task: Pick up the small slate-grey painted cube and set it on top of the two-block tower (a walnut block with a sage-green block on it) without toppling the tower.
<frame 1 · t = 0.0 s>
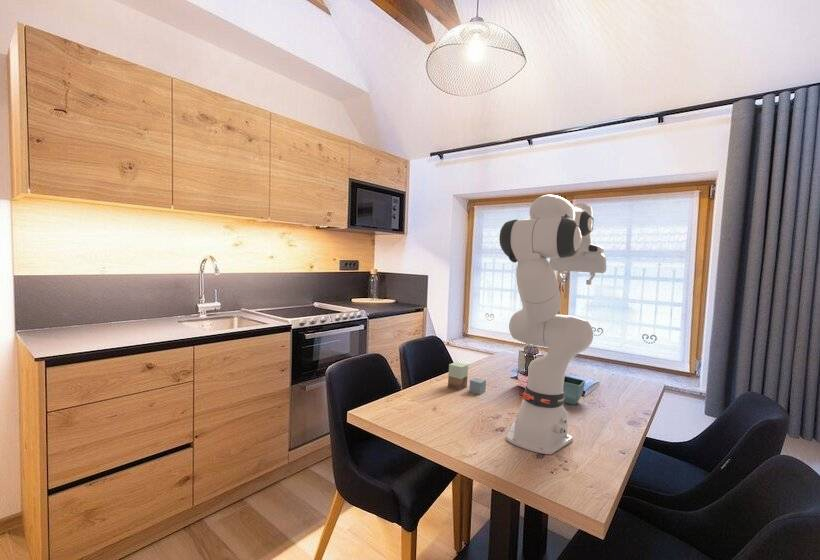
hand: (575, 283, 145), 48 cm above the table, tool pointing down, fingers open, 8 cm apart
slate cube: (477, 391, 159), on the table
candy bar box: (528, 389, 166), on the table
walnut block: (457, 387, 163), on the table, touching sage block
flower pot: (569, 402, 152), on the table
sage block: (458, 375, 163), point 5 cm above the table, touching walnut block
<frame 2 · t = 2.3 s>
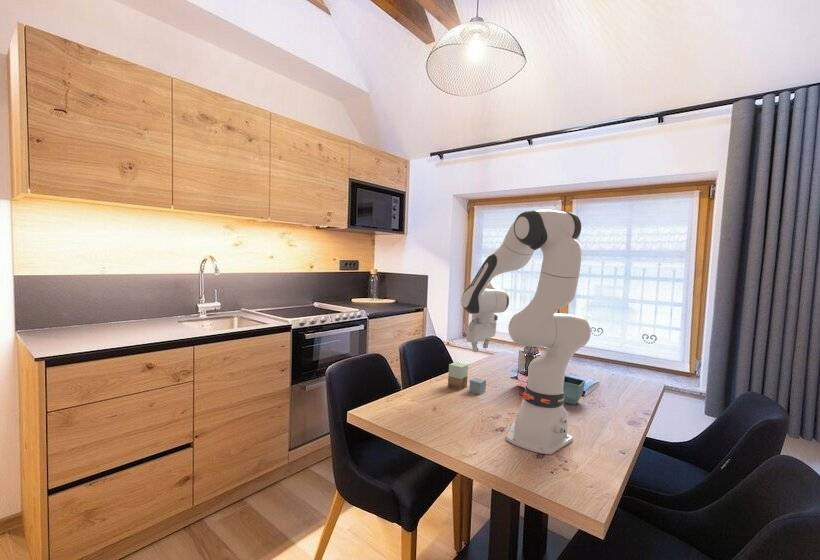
hand: (480, 349, 158), 18 cm above the table, tool pointing down, fingers open, 8 cm apart
nothing on the table moved.
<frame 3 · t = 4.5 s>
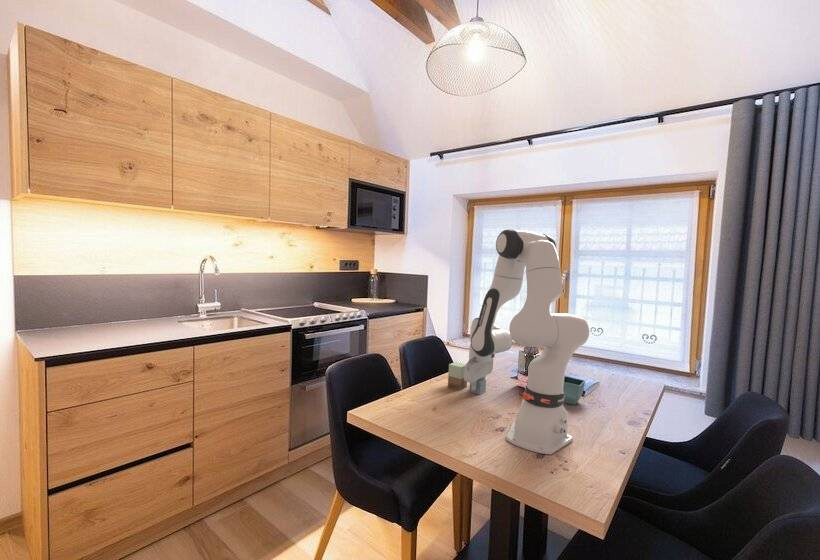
hand: (477, 387, 159), 2 cm above the table, tool pointing down, fingers closed on slate cube, 5 cm apart
slate cube: (477, 391, 159), on the table, touching gripper
everything else where it was.
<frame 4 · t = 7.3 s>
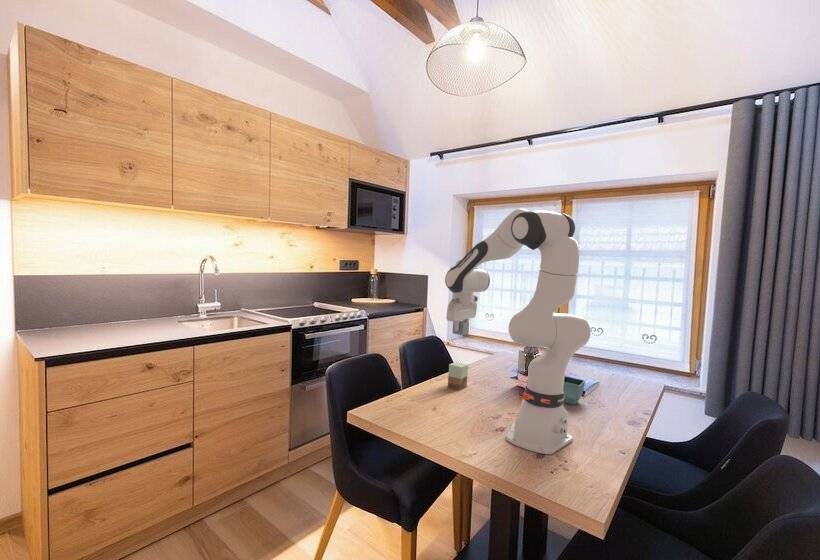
hand: (460, 329, 162), 25 cm above the table, tool pointing down, fingers closed on slate cube, 5 cm apart
slate cube: (460, 333, 162), point 23 cm above the table, touching gripper
everything else where it was.
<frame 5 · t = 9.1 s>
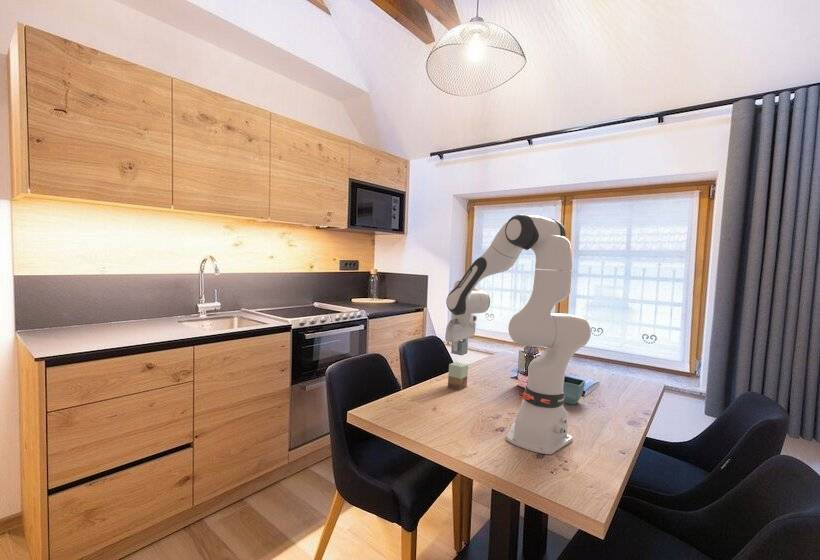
hand: (459, 349, 163), 16 cm above the table, tool pointing down, fingers closed on slate cube, 5 cm apart
slate cube: (459, 353, 163), point 15 cm above the table, touching gripper
everything else where it was.
when the fingers open (13 cm above the table, at t = 10.4 s): slate cube drops 2 cm, resting on sage block.
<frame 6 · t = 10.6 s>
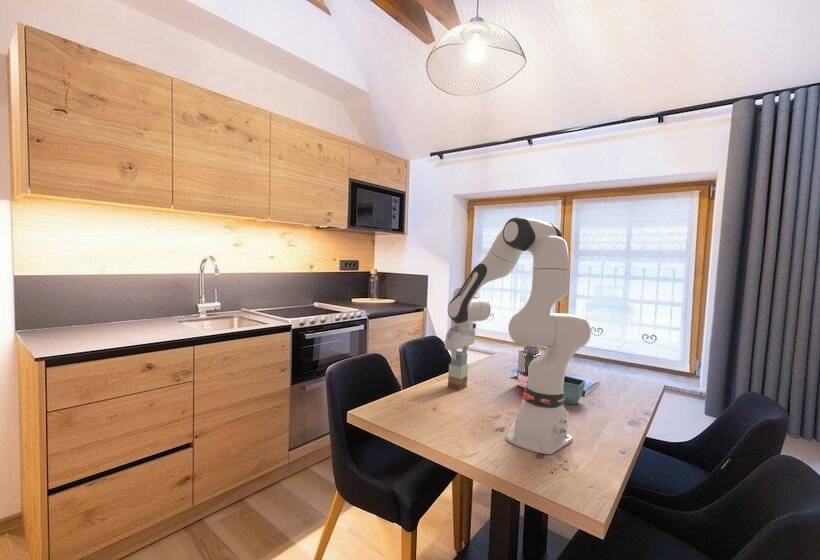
hand: (459, 357, 163), 13 cm above the table, tool pointing down, fingers open, 7 cm apart
slate cube: (458, 364, 163), point 10 cm above the table, touching sage block
sage block: (457, 375, 163), point 5 cm above the table, touching slate cube, walnut block
everything else where it was.
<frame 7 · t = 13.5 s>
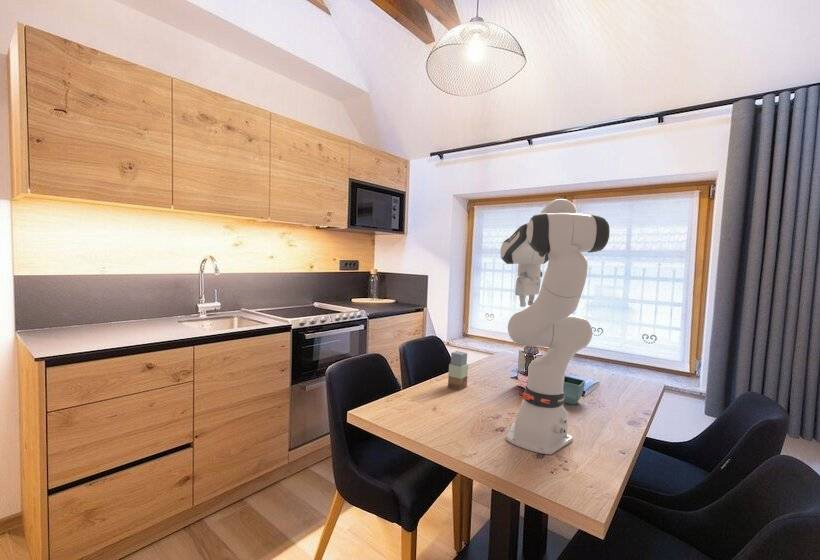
hand: (526, 306, 156), 37 cm above the table, tool pointing down, fingers open, 8 cm apart
nothing on the table moved.
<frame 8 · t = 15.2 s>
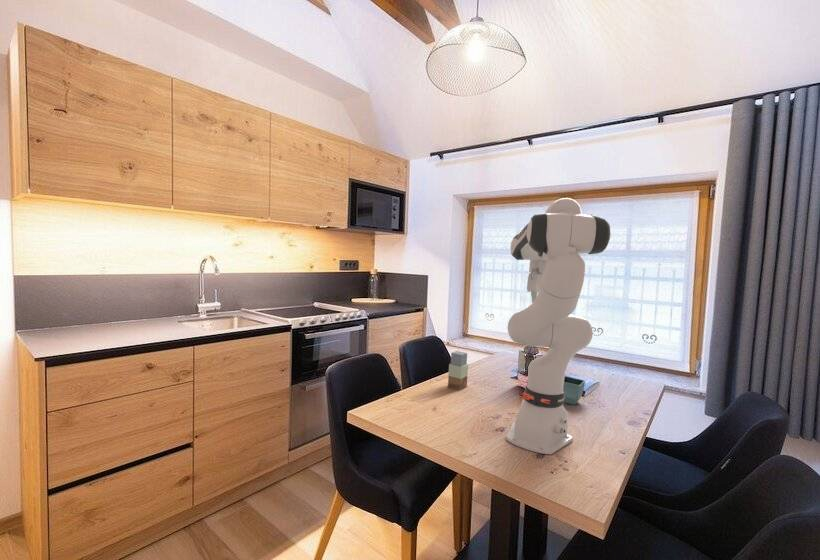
hand: (538, 302, 155), 39 cm above the table, tool pointing down, fingers open, 8 cm apart
nothing on the table moved.
at the end: slate cube 0.0 cm off-centre on the sage block, point 5.0 cm above the sage block's base; sage block tilted 0°; walnut block moved 0.1 cm from its start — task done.
